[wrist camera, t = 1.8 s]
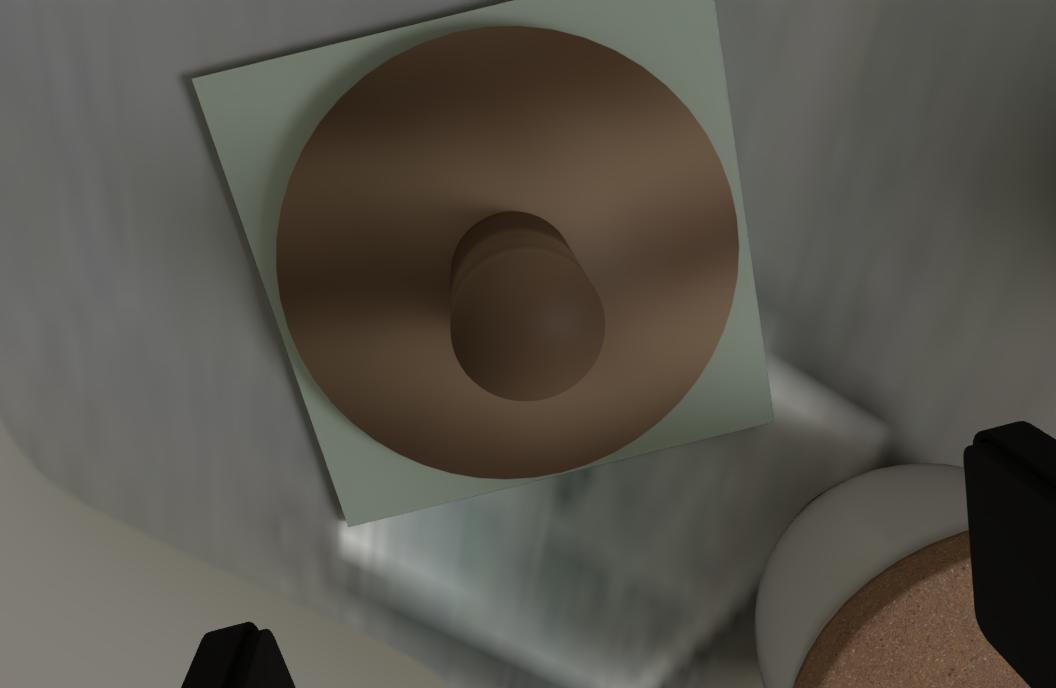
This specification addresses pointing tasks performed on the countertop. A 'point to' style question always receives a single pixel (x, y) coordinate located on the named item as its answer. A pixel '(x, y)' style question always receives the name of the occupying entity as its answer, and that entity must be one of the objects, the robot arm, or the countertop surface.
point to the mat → (329, 72)
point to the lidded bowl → (877, 589)
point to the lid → (507, 252)
